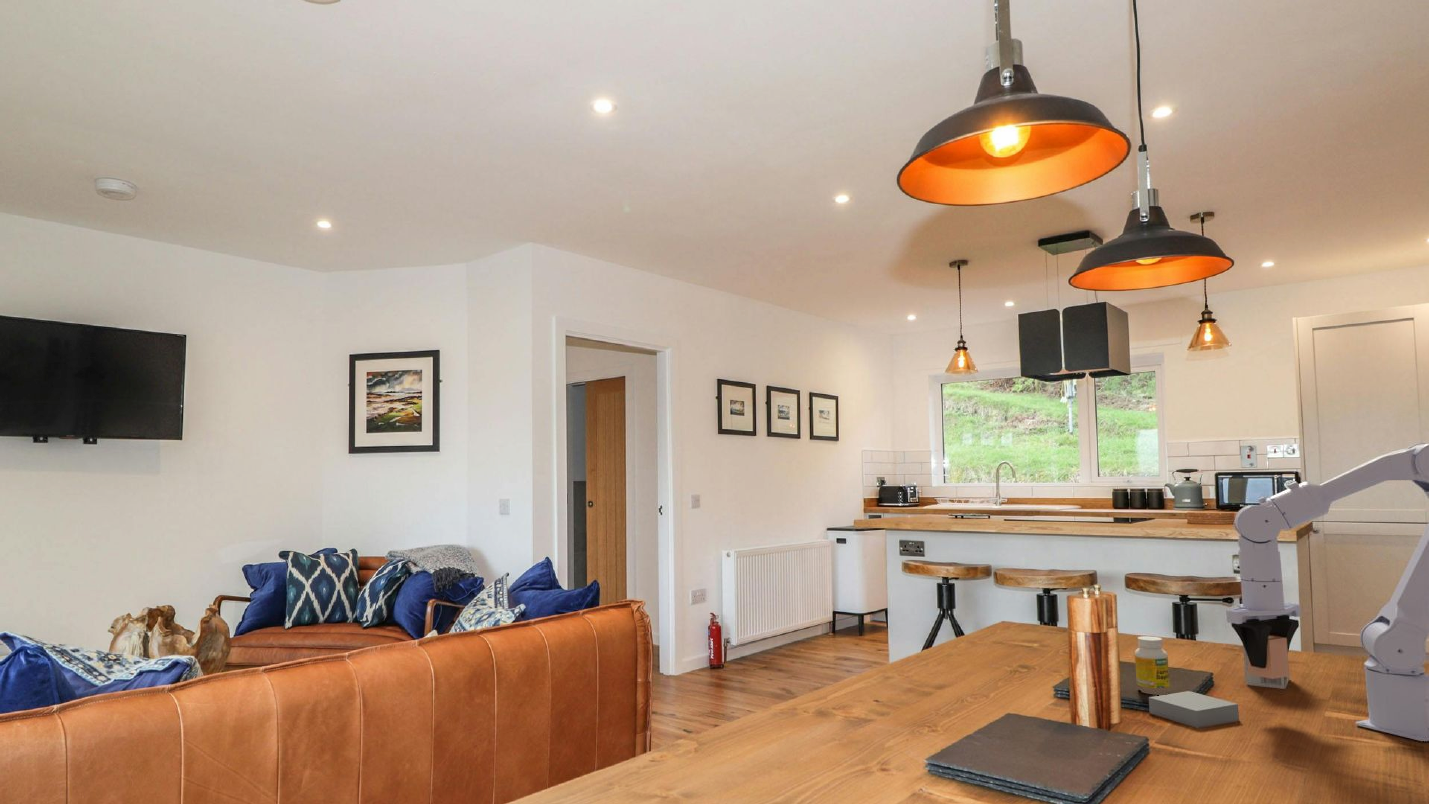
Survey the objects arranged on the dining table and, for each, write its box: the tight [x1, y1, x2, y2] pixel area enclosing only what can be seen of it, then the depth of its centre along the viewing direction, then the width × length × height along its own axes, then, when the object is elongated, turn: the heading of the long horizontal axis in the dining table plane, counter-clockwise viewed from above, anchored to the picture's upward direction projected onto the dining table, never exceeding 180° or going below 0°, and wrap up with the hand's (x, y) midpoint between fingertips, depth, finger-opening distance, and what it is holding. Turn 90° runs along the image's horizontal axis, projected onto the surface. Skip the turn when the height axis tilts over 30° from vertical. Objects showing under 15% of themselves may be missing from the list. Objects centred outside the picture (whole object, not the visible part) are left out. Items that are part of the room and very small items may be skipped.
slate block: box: [1148, 690, 1240, 729], centre depth 138 cm, size 9×9×3 cm
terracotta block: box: [1247, 635, 1291, 679], centre depth 136 cm, size 4×4×6 cm
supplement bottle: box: [1134, 635, 1171, 688], centre depth 154 cm, size 5×5×10 cm
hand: (1268, 665), depth 136 cm, fingers closed on terracotta block, 4 cm apart
